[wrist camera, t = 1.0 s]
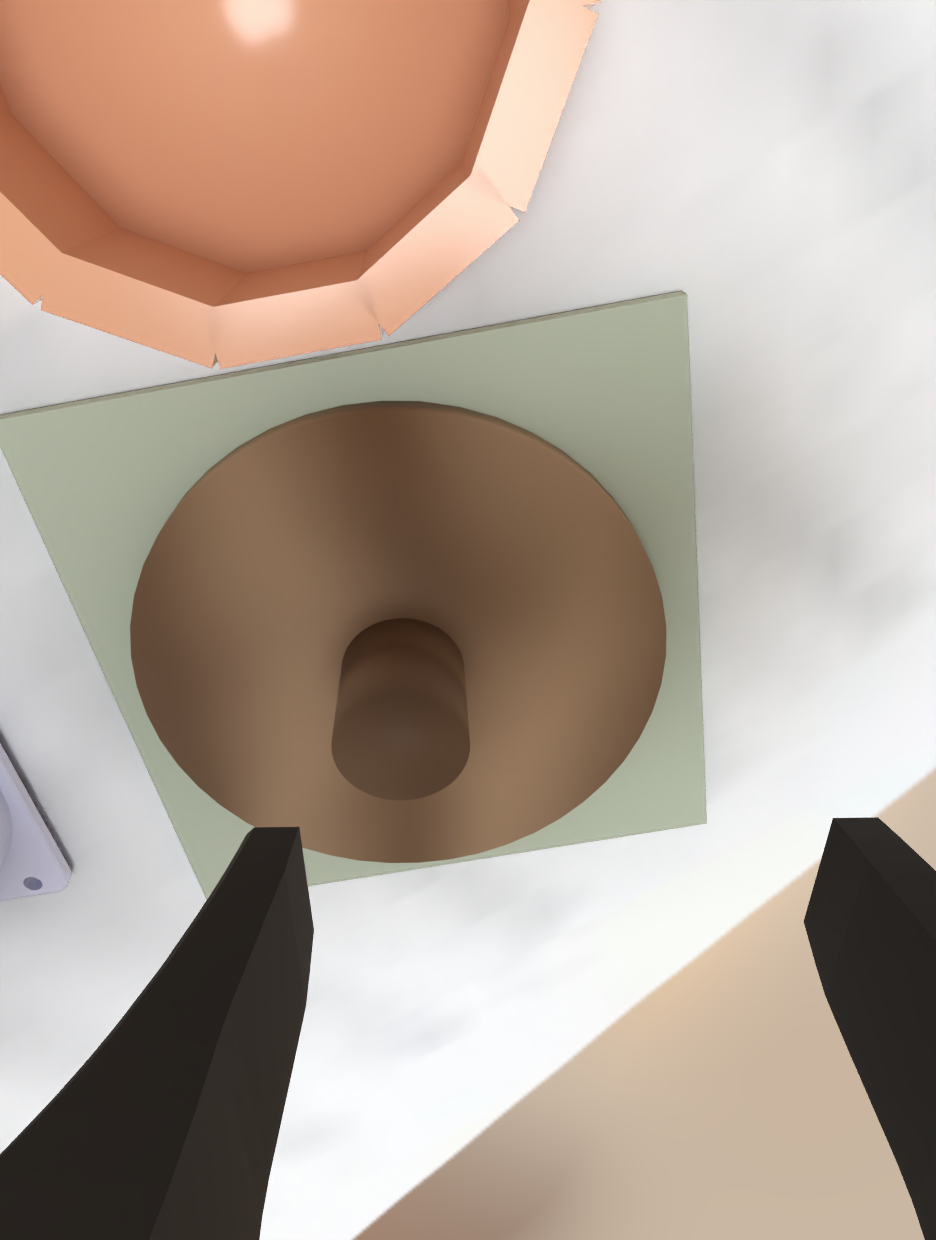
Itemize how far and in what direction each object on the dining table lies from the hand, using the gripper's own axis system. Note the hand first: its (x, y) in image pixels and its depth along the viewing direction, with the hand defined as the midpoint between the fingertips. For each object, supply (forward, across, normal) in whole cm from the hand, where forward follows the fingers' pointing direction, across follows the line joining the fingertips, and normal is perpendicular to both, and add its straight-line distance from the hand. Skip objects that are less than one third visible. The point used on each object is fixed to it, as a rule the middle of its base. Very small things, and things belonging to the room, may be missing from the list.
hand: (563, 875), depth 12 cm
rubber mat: (+11, +3, +3) cm, 11 cm away
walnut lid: (+10, +3, +3) cm, 11 cm away
